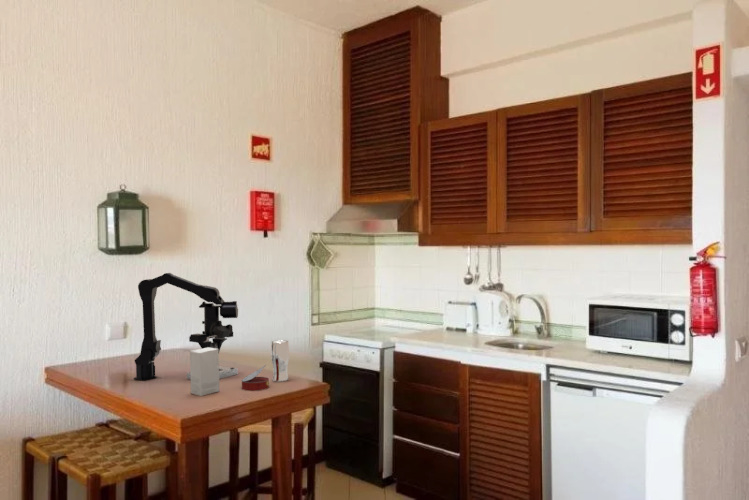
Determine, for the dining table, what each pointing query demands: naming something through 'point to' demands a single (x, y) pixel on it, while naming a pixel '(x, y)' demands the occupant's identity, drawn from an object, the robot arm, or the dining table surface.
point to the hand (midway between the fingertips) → (212, 357)
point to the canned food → (255, 381)
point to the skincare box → (204, 371)
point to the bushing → (213, 345)
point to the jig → (222, 372)
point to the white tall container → (280, 360)
